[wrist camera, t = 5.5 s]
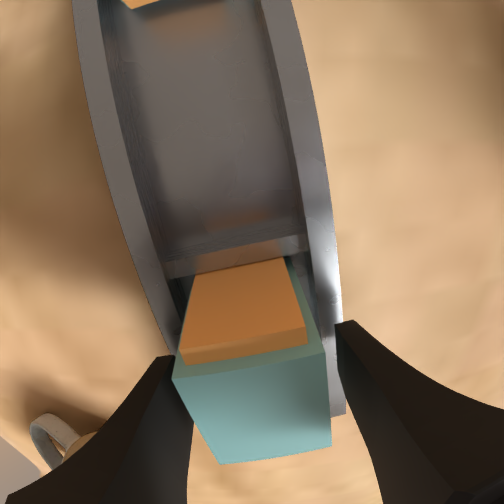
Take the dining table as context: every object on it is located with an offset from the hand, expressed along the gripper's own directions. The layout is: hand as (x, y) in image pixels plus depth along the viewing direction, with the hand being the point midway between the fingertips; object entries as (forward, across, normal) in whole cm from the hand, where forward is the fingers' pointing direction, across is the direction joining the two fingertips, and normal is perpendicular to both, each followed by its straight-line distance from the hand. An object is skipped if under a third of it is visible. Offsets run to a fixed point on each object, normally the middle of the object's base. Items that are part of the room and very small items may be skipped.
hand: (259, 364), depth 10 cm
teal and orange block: (+2, 0, 0) cm, 2 cm away
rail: (+4, 0, -6) cm, 7 cm away
